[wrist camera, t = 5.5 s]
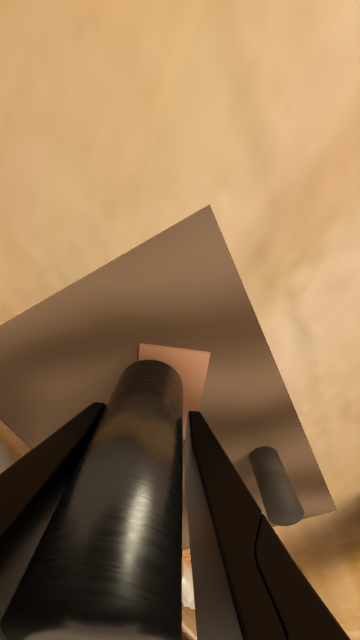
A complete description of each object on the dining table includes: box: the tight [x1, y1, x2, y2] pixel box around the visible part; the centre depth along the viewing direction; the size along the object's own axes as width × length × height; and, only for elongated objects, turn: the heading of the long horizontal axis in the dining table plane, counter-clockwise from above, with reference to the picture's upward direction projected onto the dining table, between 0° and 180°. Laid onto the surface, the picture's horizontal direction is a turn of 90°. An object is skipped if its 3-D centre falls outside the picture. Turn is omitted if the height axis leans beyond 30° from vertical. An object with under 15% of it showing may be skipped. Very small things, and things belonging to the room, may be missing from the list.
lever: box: [0, 360, 183, 640], centre depth 9 cm, size 19×4×8 cm, turn 176°
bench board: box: [0, 205, 337, 550], centre depth 12 cm, size 22×16×4 cm
